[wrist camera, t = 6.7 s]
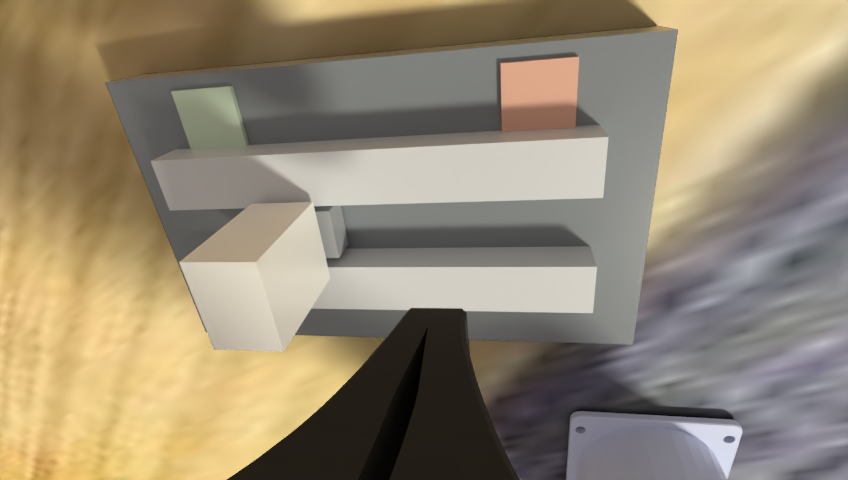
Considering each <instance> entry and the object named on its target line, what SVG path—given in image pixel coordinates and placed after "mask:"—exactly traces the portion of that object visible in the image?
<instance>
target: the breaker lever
mask: <svg viewBox="0 0 848 480" xmlns="http://www.w3.org/2000/svg"><path fill="white" fill-rule="evenodd" d="M347 245H348V239H347V234H346V229H345V224H344V219H343V214H342V209H341V206H314V204H313V202H292V203H260V204H251V205H249V206H248V207H247V208H246V209H244V210H243V211H242V212H241V213H240V214H238V215H237V216H236V217H235V218H233V219H232V220H231V221H230V222H228V223H227V224H226V225H225V226H223V227H222V228H221V229H220V230H218V231H217V232H216V233H215V234H214V235H212V236H211V237H210V238H209V239H207V240H206V241H205V242H204V243H202V244H201V245H200V246H199V247H197V248H196V249H195V250H194V251H192V252H191V253H190V254H189V255H188V256H186V257H185V258H184V259H183V260H181V261H180V262H179V264H180V266H181V269H182V271H183V273H184V276H185V278H186V281H187V283H188V286H189V288H190V291H191V293H192V296H193V298H194V301H195V303H196V306H197V308H198V311H199V313H200V316H201V318H202V321H203V323H204V326H205V328H206V331H207V333H208V336H209V338H210V341H211V343H212V346H213V348H214V349H220V350H247V351H275V352H284V351H285V349H286V348H287V346H288V345H289V343H290V341H291V340H292V338H293V337H294V335H295V333H296V332H297V330H298V329H299V327H300V326H301V324H302V322H303V321H304V319H305V318H306V316H307V314H308V313H309V311H310V310H311V308H312V306H313V305H314V303H315V302H316V300H317V298H318V297H319V295H320V294H321V292H322V291H323V289H324V287H325V286H326V284H327V283H328V281H329V279H330V274H329V270H328V265H327V261H326V258H339V257H340V256H341V254H342V253H343V251H344V250H345V248H346V246H347Z"/></svg>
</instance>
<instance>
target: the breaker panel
mask: <svg viewBox="0 0 848 480" xmlns="http://www.w3.org/2000/svg"><path fill="white" fill-rule="evenodd" d="M677 34H678V29H672V28H667V27H662V26H652V27H641V28H631V29H620V30H609V31H599V32H588V33H578V34H567V35H556V36H546V37H535V38H525V39H514V40H503V41H493V42H482V43H472V44H461V45H450V46H440V47H429V48H419V49H408V50H397V51H387V52H376V53H366V54H355V55H344V56H334V57H323V58H313V59H302V60H292V61H281V62H270V63H260V64H249V65H239V66H228V67H217V68H207V69H196V70H186V71H175V72H164V73H154V74H143V75H138V76H133V77H128V78H124V79H119V80H114V81H110V82H105V83H106V86H107V88H108V91H109V93H110V96H111V98H112V101H113V103H114V106H115V108H116V111H117V113H118V116H119V118H120V121H121V123H122V126H123V128H124V130H125V133H126V135H127V138H128V140H129V143H130V145H131V148H132V150H133V153H134V155H135V158H136V160H137V163H138V165H139V168H140V170H141V173H142V175H143V178H144V180H145V182H146V185H147V187H148V190H149V192H150V195H151V197H152V200H153V202H154V205H155V207H156V210H157V212H158V215H159V217H160V220H161V222H162V225H163V227H164V230H165V232H166V234H167V237H168V239H169V242H170V244H171V247H172V249H173V252H174V254H175V257H176V259H177V262H178V264H179V262H180V261H181V260H183V259H184V258H185V257H186V256H188V255H189V254H190V253H191V252H192V251H194V250H195V249H196V248H197V247H199V246H200V245H201V244H202V243H204V242H205V241H206V240H207V239H209V238H210V237H211V236H212V235H214V234H215V233H216V232H217V231H218V230H220V229H221V228H222V227H223V226H225V225H226V224H227V223H228V222H230V221H231V220H232V219H233V218H235V217H236V216H237V215H238V214H240V213H241V212H242V211H243V210H244V209H246V208H247V207H248V206H249V205H251V204H260V203H292V202H313V204H314V206H341V209H342V214H343V219H344V224H345V229H346V234H347V239H348V245H347V246H346V248H345V250H344V251H343V253H342V254H341V256H340V257H339V258H326V261H327V265H328V270H329V274H330V279H329V281H328V283H327V284H326V286H325V287H324V289H323V291H322V292H321V294H320V295H319V297H318V298H317V300H316V302H315V303H314V305H313V306H312V308H311V310H310V311H309V313H308V314H307V316H306V318H305V319H304V321H303V322H302V324H301V326H300V327H299V329H298V330H297V332H296V333H295V335H316V336H351V337H387V336H388V335H389V334H390V332H391V331H392V330H393V329H394V327H395V326H396V325H397V324H398V322H399V321H400V320H401V319H402V317H403V316H404V315H405V314H406V312H407V311H408V310H409V309H410V308H462V309H463V310H464V311H465V312H466V313H467V325H468V338H469V340H492V341H527V342H562V343H597V344H632V345H633V339H634V332H635V325H636V319H637V312H638V305H639V298H640V291H641V284H642V277H643V270H644V263H645V256H646V249H647V242H648V235H649V228H650V221H651V214H652V207H653V200H654V193H655V186H656V180H657V173H658V166H659V159H660V152H661V145H662V138H663V131H664V124H665V117H666V110H667V103H668V96H669V89H670V82H671V75H672V68H673V61H674V54H675V48H676V41H677ZM179 267H180V269H181V266H180V264H179ZM181 272H182V274H183V277H184V279H185V282H186V284H187V286H188V283H187V281H186V278H185V276H184V273H183V271H182V269H181ZM188 289H189V291H190V288H189V286H188ZM190 294H191V296H192V293H191V291H190ZM192 299H193V301H194V298H193V296H192ZM194 304H195V306H196V303H195V301H194ZM196 309H197V311H198V308H197V306H196ZM198 314H199V316H200V313H199V311H198ZM200 319H201V321H202V318H201V316H200ZM202 324H203V326H204V323H203V321H202ZM204 329H205V331H206V328H205V326H204ZM206 332H207V331H206Z"/></svg>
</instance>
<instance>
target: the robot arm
mask: <svg viewBox="0 0 848 480" xmlns="http://www.w3.org/2000/svg"><path fill="white" fill-rule="evenodd" d="M741 435H742V428H741V426H740V424H739V423H738V422H737V421H735V420H731V419H714V418H696V417H678V416H660V415H642V414H624V413H606V412H588V411H577V412H574V413H573V414H571V417H570V427H569V442H568V456H567V471H566V480H727V478H728V475H729V472H730V469H731V466H732V463H733V460H734V457H735V454H736V451H737V447H738V444H739V441H740V438H741ZM227 480H519V478H518V476H517V474H516V472H515V471H514V469H513V467H512V465H511V463H510V461H509V459H508V457H507V455H506V453H505V450H504V448H503V446H502V444H501V442H500V440H499V438H498V435H497V433H496V431H495V428H494V426H493V424H492V421H491V419H490V417H489V414H488V411H487V409H486V406H485V404H484V401H483V398H482V395H481V392H480V390H479V387H478V383H477V380H476V377H475V374H474V370H473V366H472V362H471V359H470V351H469V338H468V325H467V313H466V312H465V311H464V310H463V309H462V308H410V309H409V310H408V311H407V312H406V314H405V315H404V316H403V317H402V319H401V320H400V321H399V322H398V324H397V325H396V326H395V327H394V329H393V330H392V331H391V332H390V334H389V335H388V336H387V337H386V339H385V340H384V341H383V342H382V343H381V345H380V346H379V347H378V348H377V349H376V350H375V352H374V353H373V354H372V355H371V356H370V357H369V358H368V360H367V361H366V362H365V363H364V364H363V365H362V366H361V368H360V369H359V370H358V371H357V372H356V373H355V374H354V375H353V376H352V377H351V378H350V379H349V380H348V381H347V382H346V383H345V384H344V385H343V386H342V387H341V388H340V389H339V390H338V391H337V393H336V394H334V395H333V396H332V397H331V398H330V399H329V400H328V401H327V402H326V403H325V404H324V405H323V406H322V407H321V408H320V409H319V410H317V411H316V412H315V413H314V414H313V415H312V416H311V417H310V418H308V419H307V420H306V421H305V422H304V423H303V424H302V425H300V426H299V427H298V428H297V429H296V430H294V431H293V432H292V433H290V434H289V435H288V436H287V437H285V438H284V439H283V440H281V441H280V442H279V443H277V444H276V445H275V446H273V447H272V448H271V449H269V450H268V451H267V452H266V453H264V454H263V455H262V456H260V457H259V458H258V459H256V460H255V461H253V462H252V463H251V464H249V465H248V466H246V467H245V468H243V469H242V470H240V471H239V472H237V473H236V474H235V475H233V476H232V477H230V478H229V479H227Z"/></svg>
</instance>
